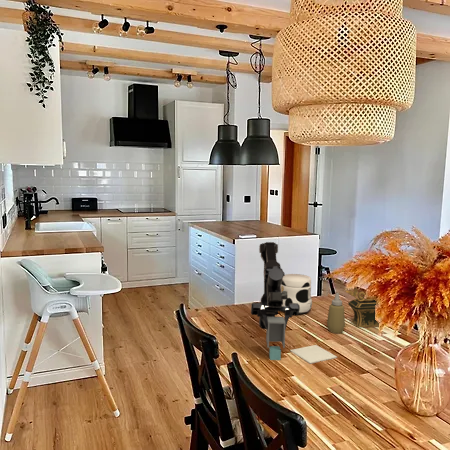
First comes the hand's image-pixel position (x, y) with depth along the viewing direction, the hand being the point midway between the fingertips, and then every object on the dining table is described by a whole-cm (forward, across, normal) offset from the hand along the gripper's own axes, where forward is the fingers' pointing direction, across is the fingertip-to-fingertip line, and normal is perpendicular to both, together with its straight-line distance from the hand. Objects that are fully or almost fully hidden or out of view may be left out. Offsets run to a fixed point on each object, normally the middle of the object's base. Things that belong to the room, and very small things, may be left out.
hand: (276, 329), depth 166 cm
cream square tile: (+5, +16, +12) cm, 20 cm away
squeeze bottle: (-13, +31, +31) cm, 46 cm away
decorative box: (-20, +47, +38) cm, 63 cm away
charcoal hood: (+4, 0, +6) cm, 7 cm away
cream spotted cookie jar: (-34, +16, +51) cm, 63 cm away
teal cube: (+8, 0, +10) cm, 12 cm away
